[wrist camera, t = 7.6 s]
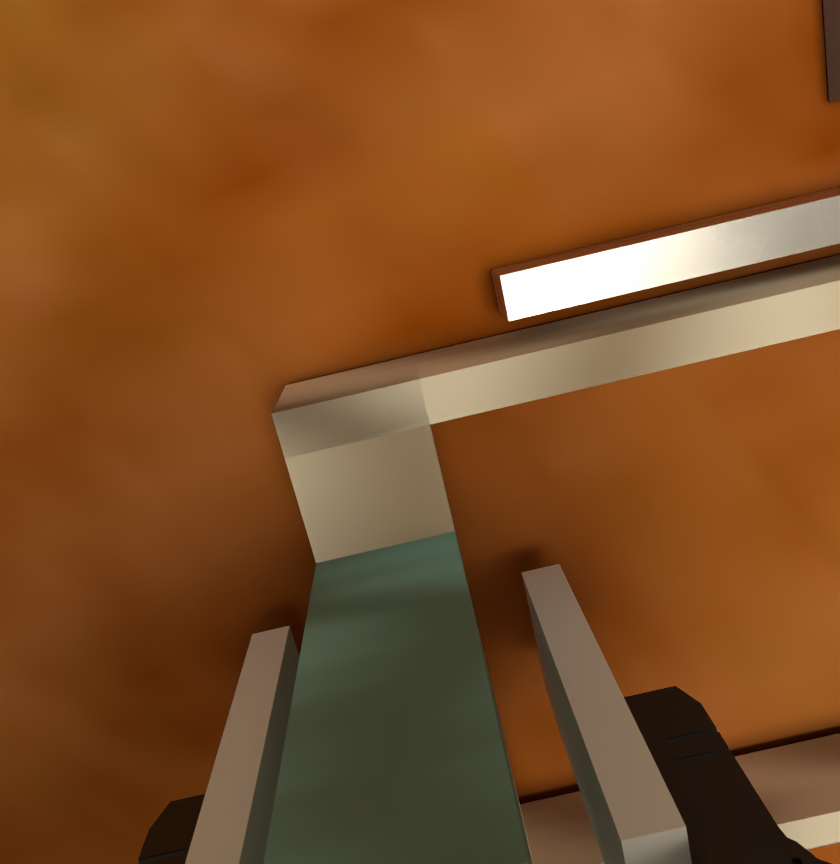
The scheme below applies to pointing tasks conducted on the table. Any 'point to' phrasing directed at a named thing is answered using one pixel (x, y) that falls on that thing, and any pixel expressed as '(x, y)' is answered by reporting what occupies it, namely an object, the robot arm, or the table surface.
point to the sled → (450, 596)
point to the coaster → (832, 46)
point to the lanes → (668, 256)
